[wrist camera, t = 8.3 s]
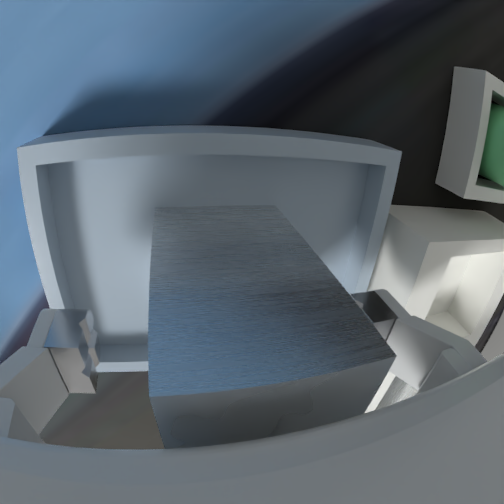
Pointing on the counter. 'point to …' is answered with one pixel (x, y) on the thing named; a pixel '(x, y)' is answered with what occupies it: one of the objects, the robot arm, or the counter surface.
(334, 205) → the tote
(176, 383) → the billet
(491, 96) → the button housing
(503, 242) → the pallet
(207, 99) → the counter surface
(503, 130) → the button
